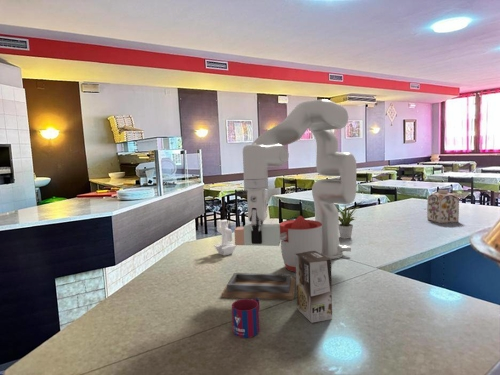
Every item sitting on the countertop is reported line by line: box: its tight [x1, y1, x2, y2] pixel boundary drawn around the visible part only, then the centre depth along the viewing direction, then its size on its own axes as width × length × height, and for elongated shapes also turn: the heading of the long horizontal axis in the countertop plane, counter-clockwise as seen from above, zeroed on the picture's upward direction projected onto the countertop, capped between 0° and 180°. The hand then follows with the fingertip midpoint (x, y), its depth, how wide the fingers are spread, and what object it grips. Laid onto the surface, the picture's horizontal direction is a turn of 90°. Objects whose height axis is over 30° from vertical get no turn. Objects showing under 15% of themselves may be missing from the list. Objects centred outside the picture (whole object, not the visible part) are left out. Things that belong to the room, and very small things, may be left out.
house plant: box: [336, 205, 359, 239], centre depth 167 cm, size 14×14×16 cm
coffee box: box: [295, 251, 333, 324], centre depth 90 cm, size 9×6×16 cm
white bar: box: [234, 223, 281, 247], centre depth 107 cm, size 14×4×6 cm, turn 80°
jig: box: [221, 272, 296, 301], centre depth 109 cm, size 22×14×3 cm, turn 80°
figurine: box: [213, 219, 238, 256], centre depth 148 cm, size 7×9×15 cm
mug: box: [231, 298, 261, 339], centre depth 85 cm, size 7×10×7 cm
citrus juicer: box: [279, 215, 322, 273], centre depth 125 cm, size 16×17×20 cm
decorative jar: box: [426, 189, 460, 224], centre depth 193 cm, size 12×12×18 cm
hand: (258, 240), depth 107 cm, fingers closed on white bar, 4 cm apart
